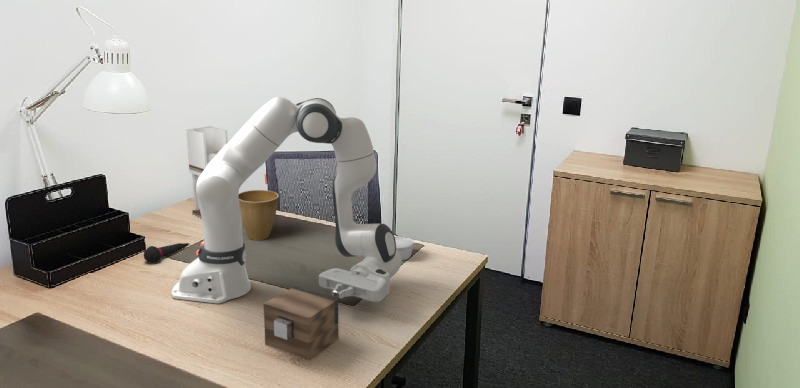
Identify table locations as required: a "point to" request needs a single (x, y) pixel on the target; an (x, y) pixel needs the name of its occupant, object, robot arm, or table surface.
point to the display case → (203, 153)
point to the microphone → (161, 251)
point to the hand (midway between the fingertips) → (336, 295)
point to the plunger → (283, 328)
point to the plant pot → (258, 212)
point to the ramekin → (404, 247)
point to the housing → (302, 321)
